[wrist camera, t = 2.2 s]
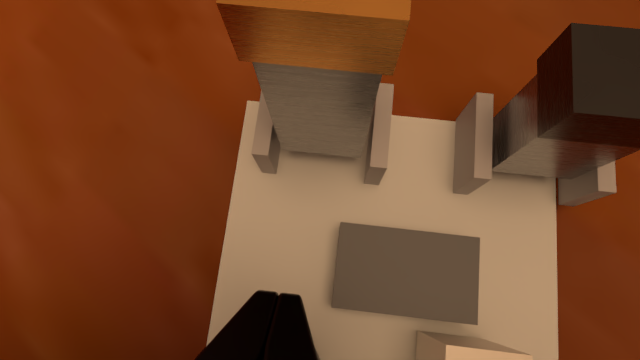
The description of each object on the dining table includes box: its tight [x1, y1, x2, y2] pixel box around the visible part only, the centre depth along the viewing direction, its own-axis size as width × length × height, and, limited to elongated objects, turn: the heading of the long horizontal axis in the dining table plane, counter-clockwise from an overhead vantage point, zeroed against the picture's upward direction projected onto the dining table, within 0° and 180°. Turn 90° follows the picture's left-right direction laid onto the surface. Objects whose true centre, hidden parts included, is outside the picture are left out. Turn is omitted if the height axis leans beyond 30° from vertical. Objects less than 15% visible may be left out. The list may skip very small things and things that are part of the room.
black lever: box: [492, 23, 640, 180], centre depth 14 cm, size 2×3×7 cm
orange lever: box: [216, 0, 411, 158], centre depth 12 cm, size 2×3×10 cm
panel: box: [206, 83, 616, 360], centre depth 16 cm, size 14×14×4 cm
